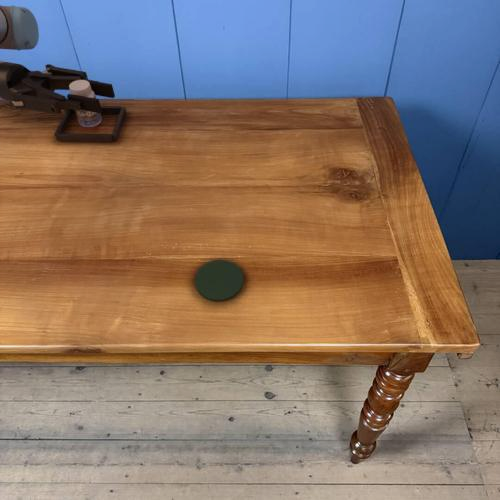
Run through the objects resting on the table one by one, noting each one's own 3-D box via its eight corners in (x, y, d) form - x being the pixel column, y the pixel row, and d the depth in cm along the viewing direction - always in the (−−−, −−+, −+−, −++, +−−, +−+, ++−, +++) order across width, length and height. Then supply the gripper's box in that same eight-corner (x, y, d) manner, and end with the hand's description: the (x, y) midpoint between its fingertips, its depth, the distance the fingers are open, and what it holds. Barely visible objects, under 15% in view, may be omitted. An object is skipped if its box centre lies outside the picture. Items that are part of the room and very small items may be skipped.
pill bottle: (81, 130, 94) (68, 93, 88) (77, 117, 97) (65, 81, 91) (104, 124, 95) (93, 88, 89) (100, 112, 98) (89, 76, 92)
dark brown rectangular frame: (56, 141, 94) (53, 135, 93) (70, 111, 101) (68, 105, 100) (117, 142, 94) (115, 136, 93) (127, 112, 101) (125, 105, 99)
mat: (185, 283, 72) (184, 281, 71) (217, 254, 75) (217, 252, 75) (221, 310, 69) (220, 308, 68) (253, 278, 72) (253, 276, 72)
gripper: (36, 75, 103) (130, 91, 99) (-15, 120, 92) (88, 141, 88) (23, 42, 97) (122, 58, 93) (-33, 87, 87) (77, 106, 82)
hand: (106, 98), depth 90 cm, fingers closed on pill bottle, 5 cm apart
